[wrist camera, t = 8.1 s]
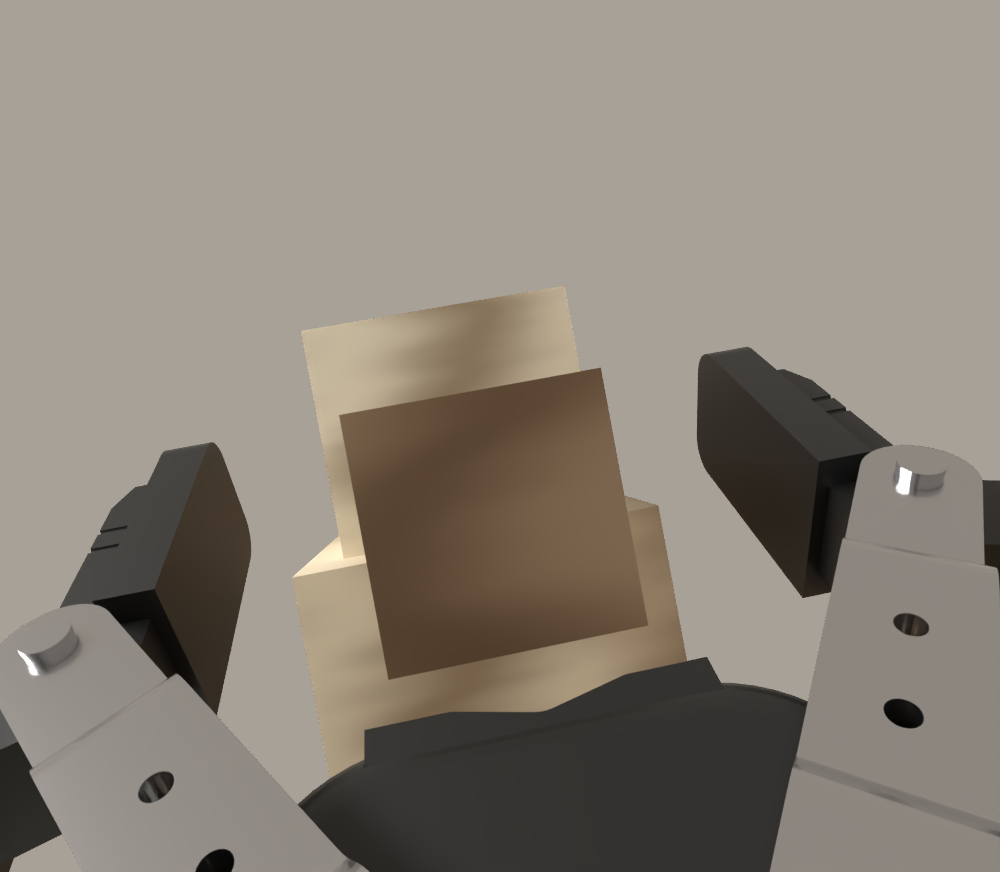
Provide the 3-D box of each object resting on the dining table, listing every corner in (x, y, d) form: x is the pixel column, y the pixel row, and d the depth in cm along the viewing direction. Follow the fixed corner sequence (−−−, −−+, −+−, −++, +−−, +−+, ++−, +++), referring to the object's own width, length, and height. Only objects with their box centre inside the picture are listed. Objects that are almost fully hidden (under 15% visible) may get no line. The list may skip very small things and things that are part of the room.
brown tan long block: (207, 717, 8) (104, 176, 8) (370, 527, 26) (339, 361, 26) (813, 590, 9) (720, 83, 9) (563, 490, 26) (532, 327, 26)
